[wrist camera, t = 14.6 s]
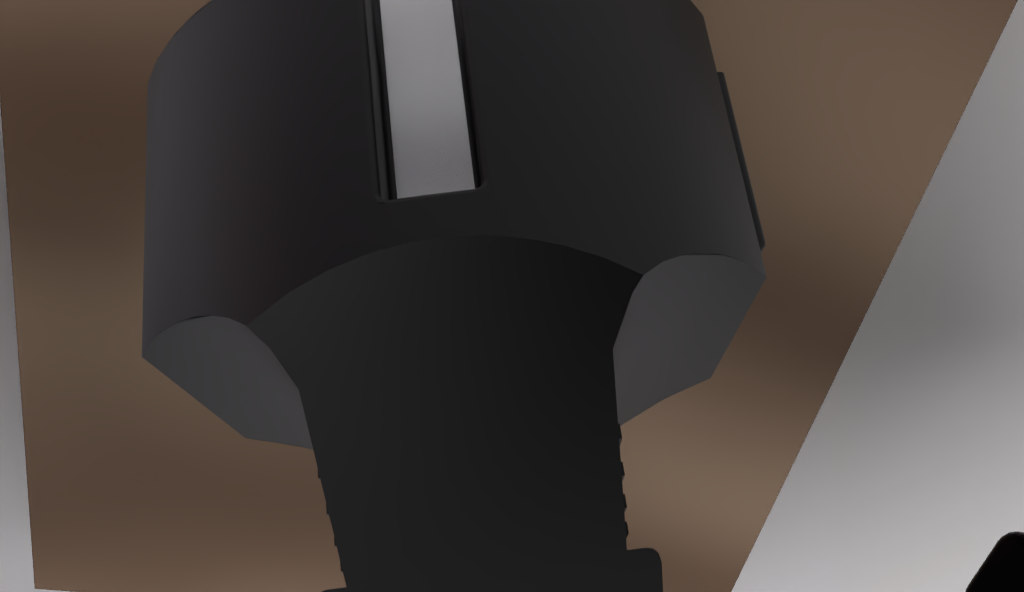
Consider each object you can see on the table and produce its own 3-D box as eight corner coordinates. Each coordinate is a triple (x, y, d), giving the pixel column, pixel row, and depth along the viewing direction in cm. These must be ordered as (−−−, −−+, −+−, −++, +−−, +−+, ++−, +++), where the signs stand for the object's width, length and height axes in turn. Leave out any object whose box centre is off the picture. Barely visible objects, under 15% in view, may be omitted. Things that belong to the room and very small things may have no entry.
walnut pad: (695, 596, 19) (708, 638, 18) (53, 543, 17) (34, 588, 16) (1132, -360, 11) (1194, -364, 10) (-13, -703, 9) (-60, -746, 8)
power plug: (360, 675, 16) (-35, 678, 5) (336, 274, 19) (43, -282, 8) (685, 632, 16) (977, 545, 5) (614, 239, 19) (707, -361, 8)
